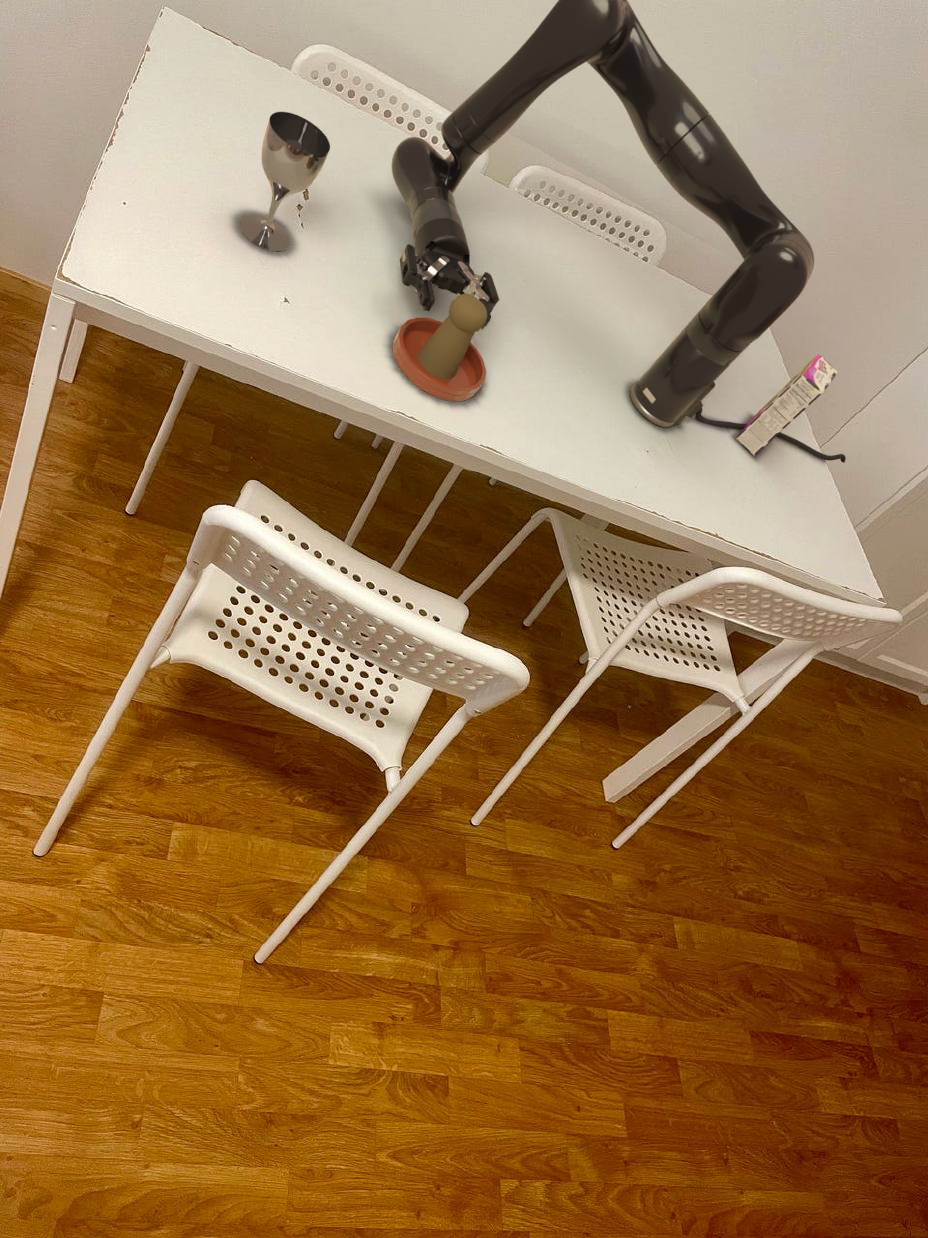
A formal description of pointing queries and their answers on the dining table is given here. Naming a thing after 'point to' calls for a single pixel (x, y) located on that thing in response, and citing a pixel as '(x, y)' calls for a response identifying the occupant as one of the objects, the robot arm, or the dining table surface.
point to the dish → (407, 359)
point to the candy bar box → (787, 404)
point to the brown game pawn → (453, 337)
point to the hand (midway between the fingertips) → (457, 315)
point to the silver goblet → (285, 172)
